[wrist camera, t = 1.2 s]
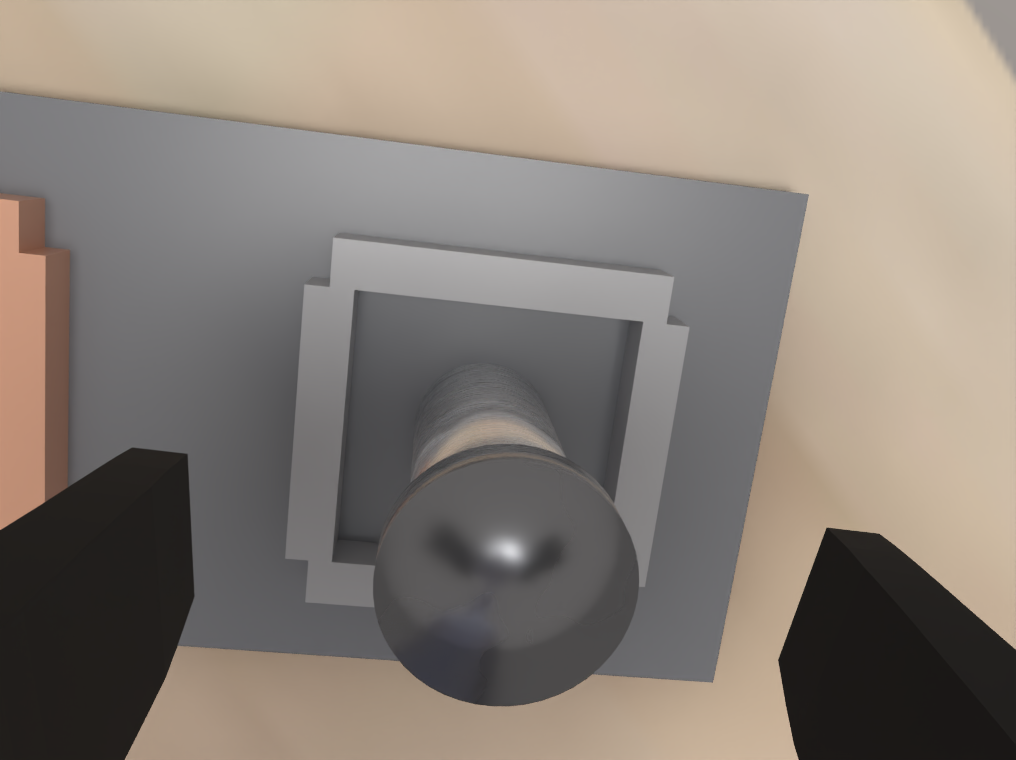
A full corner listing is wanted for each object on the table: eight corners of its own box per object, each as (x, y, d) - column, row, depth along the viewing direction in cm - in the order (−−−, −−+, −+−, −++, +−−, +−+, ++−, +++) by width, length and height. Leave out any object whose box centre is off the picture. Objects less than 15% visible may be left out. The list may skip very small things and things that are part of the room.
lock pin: (552, 513, 21) (617, 714, 13) (389, 499, 21) (361, 697, 13) (575, 355, 20) (658, 474, 12) (405, 337, 20) (385, 448, 12)
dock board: (701, 660, 23) (727, 710, 21) (-391, 582, 21) (-486, 631, 19) (791, 192, 21) (832, 196, 18) (-456, 34, 18) (-576, 17, 16)
